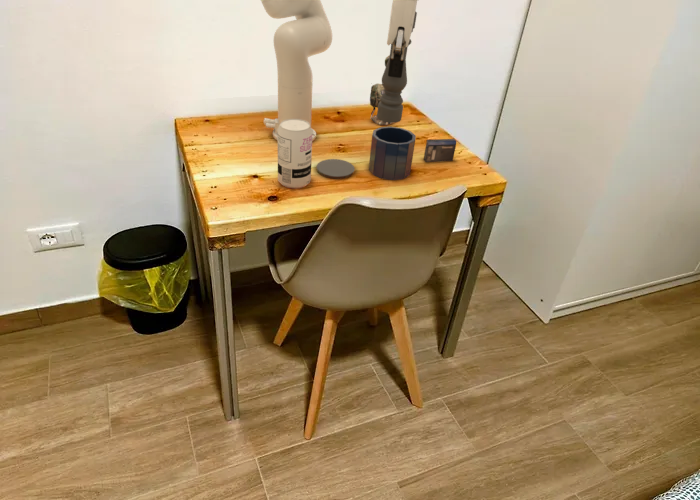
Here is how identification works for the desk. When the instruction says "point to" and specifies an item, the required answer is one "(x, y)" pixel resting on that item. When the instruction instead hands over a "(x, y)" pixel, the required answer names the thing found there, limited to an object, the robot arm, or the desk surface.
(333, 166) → the coaster
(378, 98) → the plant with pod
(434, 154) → the mini dv tape
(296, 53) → the robot arm
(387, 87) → the candle holder
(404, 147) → the crock
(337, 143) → the desk surface
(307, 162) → the supplement can
